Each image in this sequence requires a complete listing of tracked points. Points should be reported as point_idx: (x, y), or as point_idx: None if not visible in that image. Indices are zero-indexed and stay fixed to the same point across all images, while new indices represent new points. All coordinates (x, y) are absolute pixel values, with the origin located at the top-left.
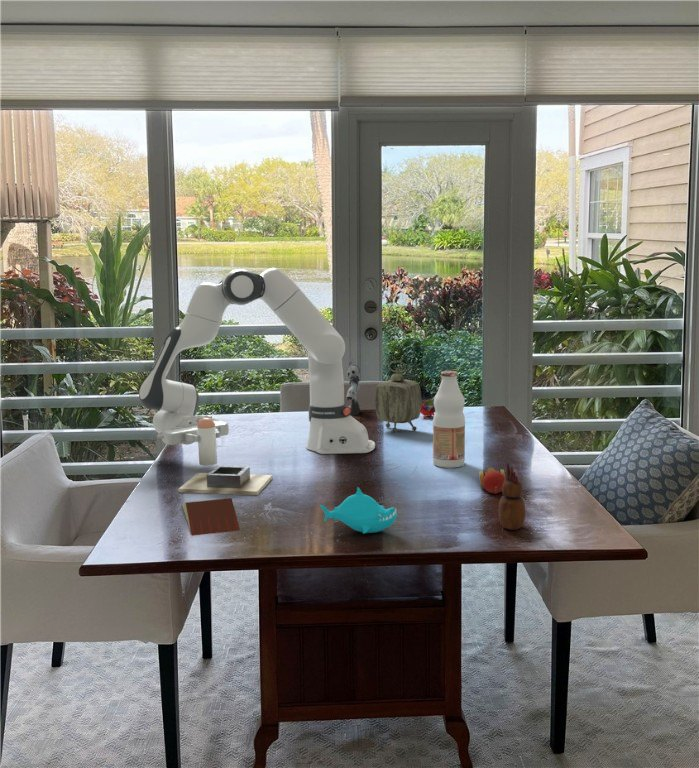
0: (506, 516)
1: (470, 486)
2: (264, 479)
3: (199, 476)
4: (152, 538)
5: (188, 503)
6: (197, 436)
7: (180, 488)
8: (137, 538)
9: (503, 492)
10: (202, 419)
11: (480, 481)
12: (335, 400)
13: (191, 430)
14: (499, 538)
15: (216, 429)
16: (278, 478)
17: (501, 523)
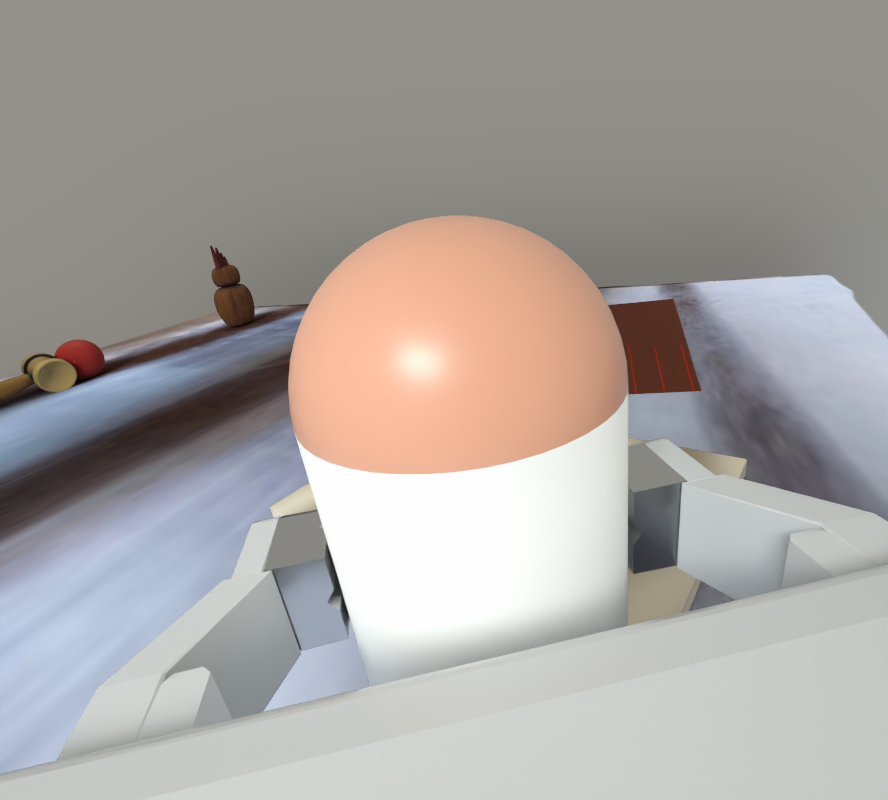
0: (253, 302)
1: (62, 394)
2: None
3: (632, 599)
4: (739, 307)
5: (665, 300)
6: (633, 446)
7: (735, 459)
8: (776, 306)
9: (237, 277)
10: (511, 224)
11: (74, 368)
12: None
13: (805, 584)
14: (283, 314)
15: (159, 652)
16: (255, 516)
17: (249, 317)
